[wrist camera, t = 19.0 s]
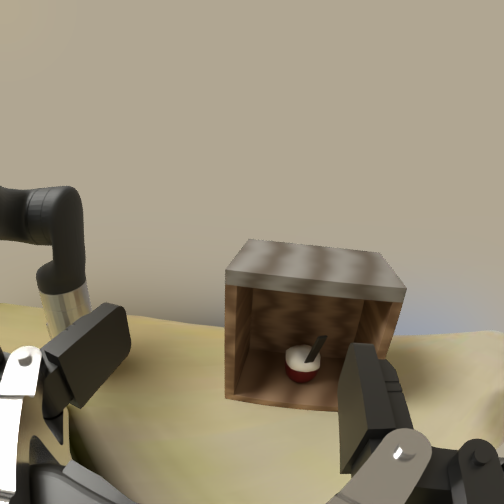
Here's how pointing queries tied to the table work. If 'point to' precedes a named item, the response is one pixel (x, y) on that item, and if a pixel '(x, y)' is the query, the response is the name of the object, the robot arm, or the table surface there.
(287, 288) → the under counter cubby
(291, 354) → the cream-topped red cup
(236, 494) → the table surface
